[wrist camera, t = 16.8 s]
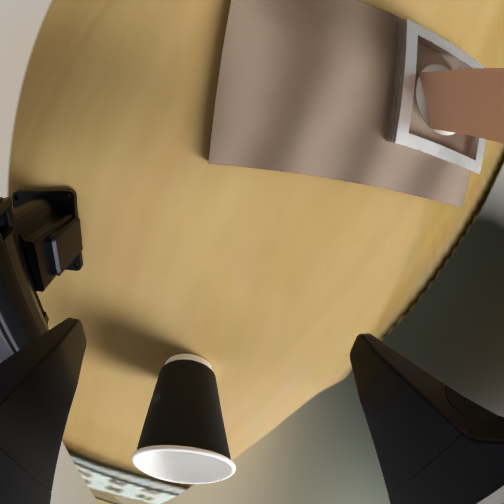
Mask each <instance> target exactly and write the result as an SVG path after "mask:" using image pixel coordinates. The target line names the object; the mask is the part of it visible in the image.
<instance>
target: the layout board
mask: <svg viewBox="0 0 504 504" xmlns="http://www.w3.org/2000/svg"><path fill="white" fill-rule="evenodd" d="M474 68H486V67H484V66H483V65H482V64H480V63H479V62H478V61H476V60H475V59H474V58H472V57H471V56H469V55H468V54H466V53H465V52H463V51H462V50H460V49H459V48H457V47H456V46H454V45H453V44H451V43H450V42H448V41H446V40H445V39H443V38H441V37H440V36H438V35H436V34H435V33H433V32H431V31H429V30H428V29H426V28H424V27H422V26H420V25H418V24H416V23H415V22H413V21H411V20H409V19H405V20H403V19H401V18H399V17H397V16H395V15H393V14H390V13H388V12H386V11H384V10H381V9H379V8H376V7H374V6H371V5H369V4H366V3H364V2H361V1H358V0H231V4H230V9H229V15H228V21H227V26H226V32H225V38H224V45H223V51H222V57H221V64H220V71H219V78H218V85H217V93H216V100H215V108H214V117H213V125H212V134H211V143H210V153H209V163H208V164H216V165H228V166H238V167H248V168H258V169H266V170H275V171H283V172H290V173H297V174H304V175H311V176H318V177H324V178H330V179H336V180H342V181H348V182H353V183H358V184H364V185H369V186H374V187H379V188H384V189H388V190H393V191H398V192H402V193H407V194H411V195H415V196H419V197H424V198H428V199H432V200H436V201H439V202H443V203H447V204H451V205H454V206H458V207H462V206H463V202H464V198H465V194H466V190H467V186H468V182H469V177H470V172H471V171H472V172H474V173H477V174H480V170H481V165H482V160H483V154H484V148H485V141H486V139H483V138H479V137H474V136H469V135H464V134H459V133H454V132H448V131H442V130H436V129H431V127H430V122H429V116H428V111H427V107H426V102H425V98H424V93H423V89H422V85H421V81H420V77H419V74H418V73H423V72H432V71H442V70H455V69H474Z"/></svg>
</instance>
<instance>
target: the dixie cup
mask: <svg viewBox="0 0 504 504" xmlns="http://www.w3.org/2000/svg"><path fill="white" fill-rule="evenodd" d="M131 459H132V462H133V464H134V465H135V466H136V467H137V468H138V469H139V470H141V471H142V472H144V473H146V474H148V475H150V476H153V477H155V478H158V479H162V480H166V481H170V482H176V483H184V484H204V483H205V484H206V483H213V482H217V481H221V480H224V479H227V478H229V477H230V476H231V475H233V474H234V472H235V470H236V466H235V464H234V462H233V461H232V460H231V458H230V453H229V448H228V443H227V438H226V433H225V428H224V423H223V417H222V412H221V406H220V401H219V395H218V389H217V383H216V377H215V374H214V372H213V371H212V367H211V365H210V364H209V363H208V362H207V361H206V360H205V359H204V358H202V357H200V356H197V355H193V354H177V355H174V356H172V357H170V358H169V359H168V360H167V361H166V363H165V365H164V366H163V367H162V369H161V371H160V374H159V377H158V380H157V383H156V386H155V389H154V393H153V396H152V399H151V402H150V406H149V409H148V412H147V416H146V419H145V423H144V426H143V429H142V433H141V436H140V440H139V444H138V447H137V450H136V451H135V452H134V453H133V454H132V457H131Z"/></svg>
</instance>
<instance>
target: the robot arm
mask: <svg viewBox="0 0 504 504" xmlns="http://www.w3.org/2000/svg"><path fill="white" fill-rule="evenodd" d="M69 194H70V195H71V197H72V198H71V199H69V197H68V195H69ZM17 195H18V197H19V199H18V198H17ZM12 198H13V208H14V209H12V208H11V206H12V201H11V197H7V198H2V197H0V504H50V499H51V491H52V485H53V480H54V474H55V469H56V464H57V459H58V454H59V450H60V446H61V441H62V437H63V433H64V429H65V426H66V422H67V418H68V414H69V411H70V407H71V404H72V401H73V397H74V394H75V391H76V387H77V384H78V379H79V374H80V370H81V365H82V360H83V356H84V352H85V348H86V338H85V334H84V330H83V326H82V323H81V321H80V320H79V319H74V318H68V319H66V320H64V321H63V322H61V323H60V324H58V325H57V326H55V327H54V328H52V329H50V330H49V329H48V320H49V318H48V316H47V314H46V312H44V310H43V308H42V305H41V303H40V300H39V298H38V295H37V293H36V291H41V292H42V291H44V290H45V288H46V287H47V286H48V285H49V284H50V282H51V281H52V280H53V279H54V278H55V276H60V275H61V274H62V272H63V271H64V270H65V269H66V270H75V271H78V270H80V269H81V268H82V266H83V260H82V252H81V251H82V249H83V247H82V238H81V228H80V219H79V218H78V212H77V196H76V193H75V191H73V190H18V191H16V192H14V193H13V197H12ZM75 262H76V263H78V265H79V266H78V265H76V263H75ZM350 360H351V364H352V369H353V373H354V378H355V382H356V387H357V391H358V395H359V399H360V402H361V405H362V408H363V411H364V413H365V417H366V420H367V423H368V426H369V430H370V433H371V436H372V439H373V443H374V446H375V449H376V452H377V456H378V459H379V463H380V466H381V470H382V473H383V477H384V480H385V484H386V488H387V491H388V496H389V500H390V503H391V504H504V417H501V416H498V415H496V414H494V413H493V412H491V411H489V410H487V409H485V408H484V407H482V406H480V405H478V404H476V403H474V402H473V401H471V400H469V399H468V398H466V397H464V396H462V395H461V394H459V393H458V392H456V391H455V390H453V389H452V388H450V387H449V386H447V385H444V383H443V382H441V381H439V380H438V379H437V378H435V377H434V376H432V375H431V374H429V373H428V372H426V371H425V370H423V369H422V368H420V367H419V366H417V365H416V364H414V363H413V362H411V361H410V360H408V359H407V358H405V357H404V356H402V355H401V354H400V353H398V352H396V351H395V350H393V349H392V348H391V347H389V346H388V345H386V344H385V343H383V342H382V341H380V340H379V339H377V338H376V337H374V336H373V335H371V334H368V333H367V334H359V335H358V336H357V338H356V340H355V342H354V345H353V347H352V349H351V352H350Z"/></svg>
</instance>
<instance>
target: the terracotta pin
mask: <svg viewBox="0 0 504 504" xmlns="http://www.w3.org/2000/svg"><path fill="white" fill-rule="evenodd" d="M418 74H419V77H420V81H421V85H422V89H423V93H424V98H425V102H426V107H427V111H428V116H429V122H430V127H431V129H436V130H442V131H448V132H454V133H459V134H464V135H469V136H474V137H479V138H483V139H488V140H492V141H496V142H500V143H504V68H474V69H455V70H442V71H432V72H423V73H418Z"/></svg>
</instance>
